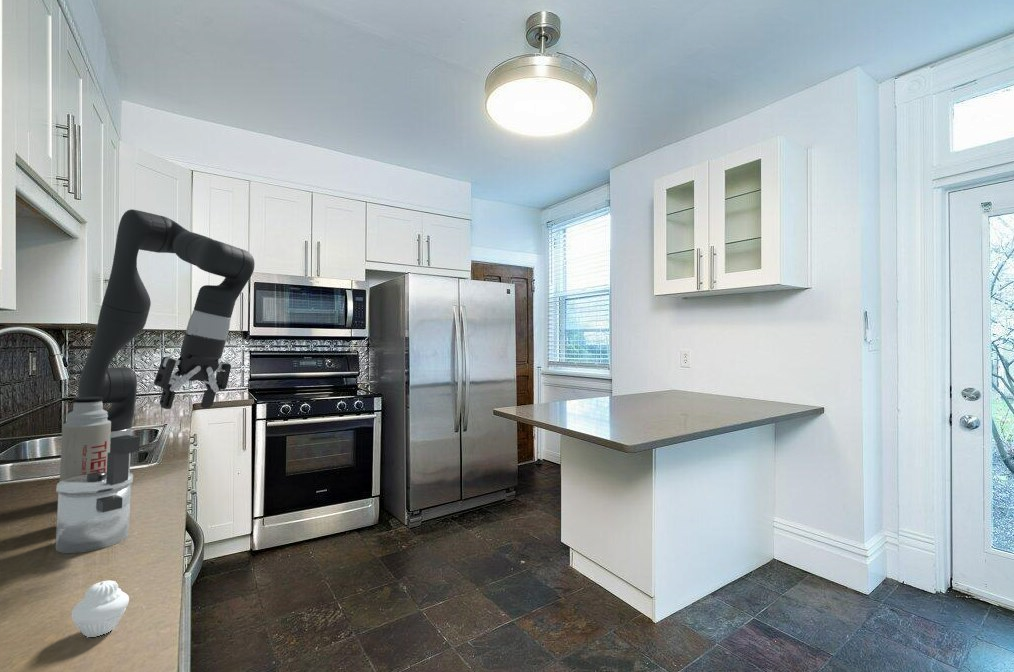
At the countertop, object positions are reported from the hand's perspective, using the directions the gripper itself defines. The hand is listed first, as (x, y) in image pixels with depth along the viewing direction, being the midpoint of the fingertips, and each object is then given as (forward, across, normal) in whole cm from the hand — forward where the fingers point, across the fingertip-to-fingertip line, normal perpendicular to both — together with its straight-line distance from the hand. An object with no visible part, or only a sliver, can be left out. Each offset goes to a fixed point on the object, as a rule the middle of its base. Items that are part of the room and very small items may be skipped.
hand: (186, 407), depth 98 cm
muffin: (+25, +23, +27) cm, 44 cm away
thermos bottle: (+31, +2, -18) cm, 36 cm away
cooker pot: (+29, +6, -6) cm, 30 cm away
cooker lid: (+18, +7, -8) cm, 21 cm away
